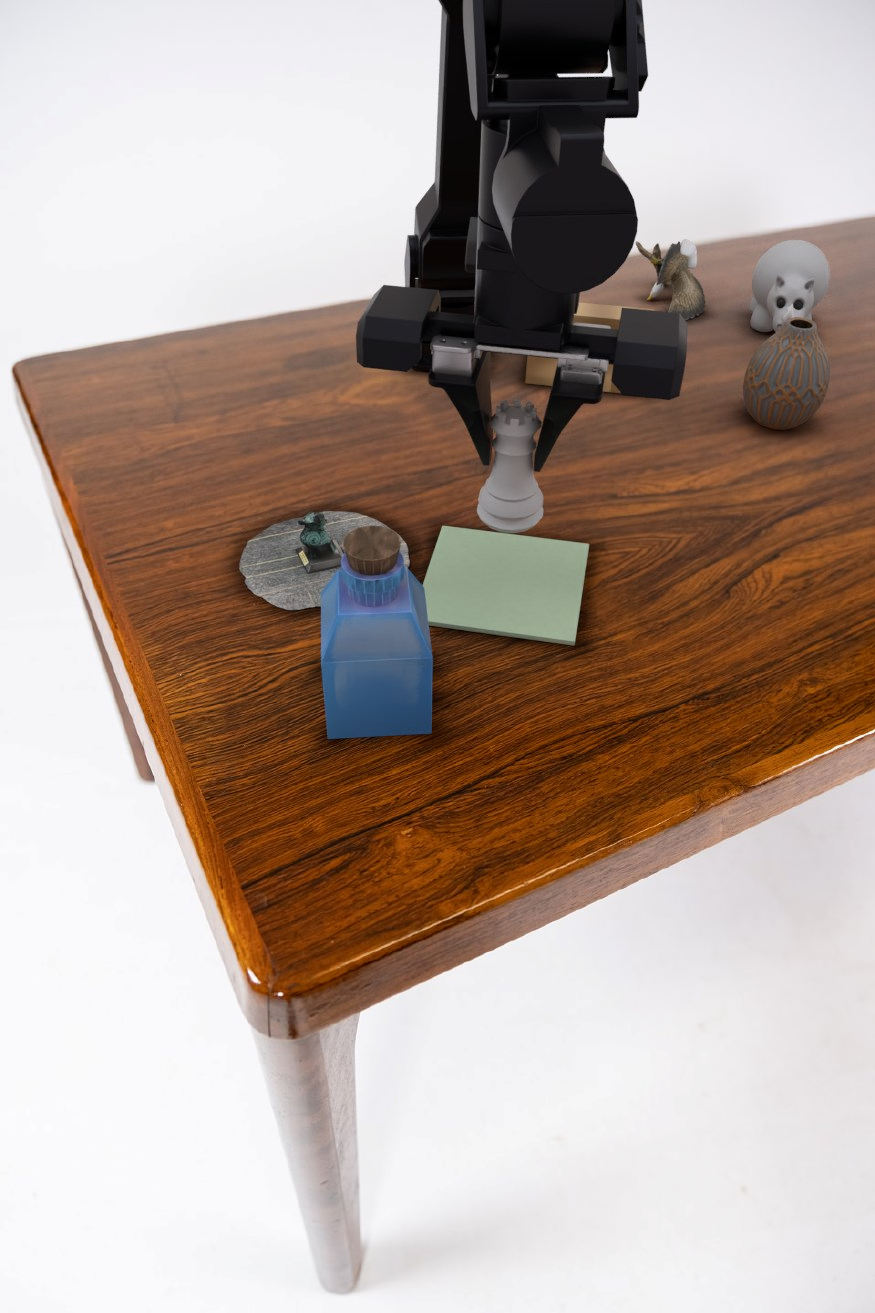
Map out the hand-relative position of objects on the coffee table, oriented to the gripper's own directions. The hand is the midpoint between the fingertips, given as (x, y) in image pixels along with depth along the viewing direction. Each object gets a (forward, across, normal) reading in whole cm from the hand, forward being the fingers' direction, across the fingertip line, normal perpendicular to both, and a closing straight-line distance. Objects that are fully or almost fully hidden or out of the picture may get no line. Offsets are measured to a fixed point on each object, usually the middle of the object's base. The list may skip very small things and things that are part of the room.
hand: (512, 465), depth 65 cm
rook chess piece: (+4, 0, 0) cm, 4 cm away
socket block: (+10, -3, -35) cm, 36 cm away
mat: (+10, 0, 0) cm, 10 cm away
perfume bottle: (+10, +6, +13) cm, 17 cm away
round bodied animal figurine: (+10, -21, -44) cm, 50 cm away
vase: (+10, -20, -28) cm, 36 cm away
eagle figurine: (+10, -10, -51) cm, 53 cm away
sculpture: (+10, +13, 0) cm, 16 cm away
